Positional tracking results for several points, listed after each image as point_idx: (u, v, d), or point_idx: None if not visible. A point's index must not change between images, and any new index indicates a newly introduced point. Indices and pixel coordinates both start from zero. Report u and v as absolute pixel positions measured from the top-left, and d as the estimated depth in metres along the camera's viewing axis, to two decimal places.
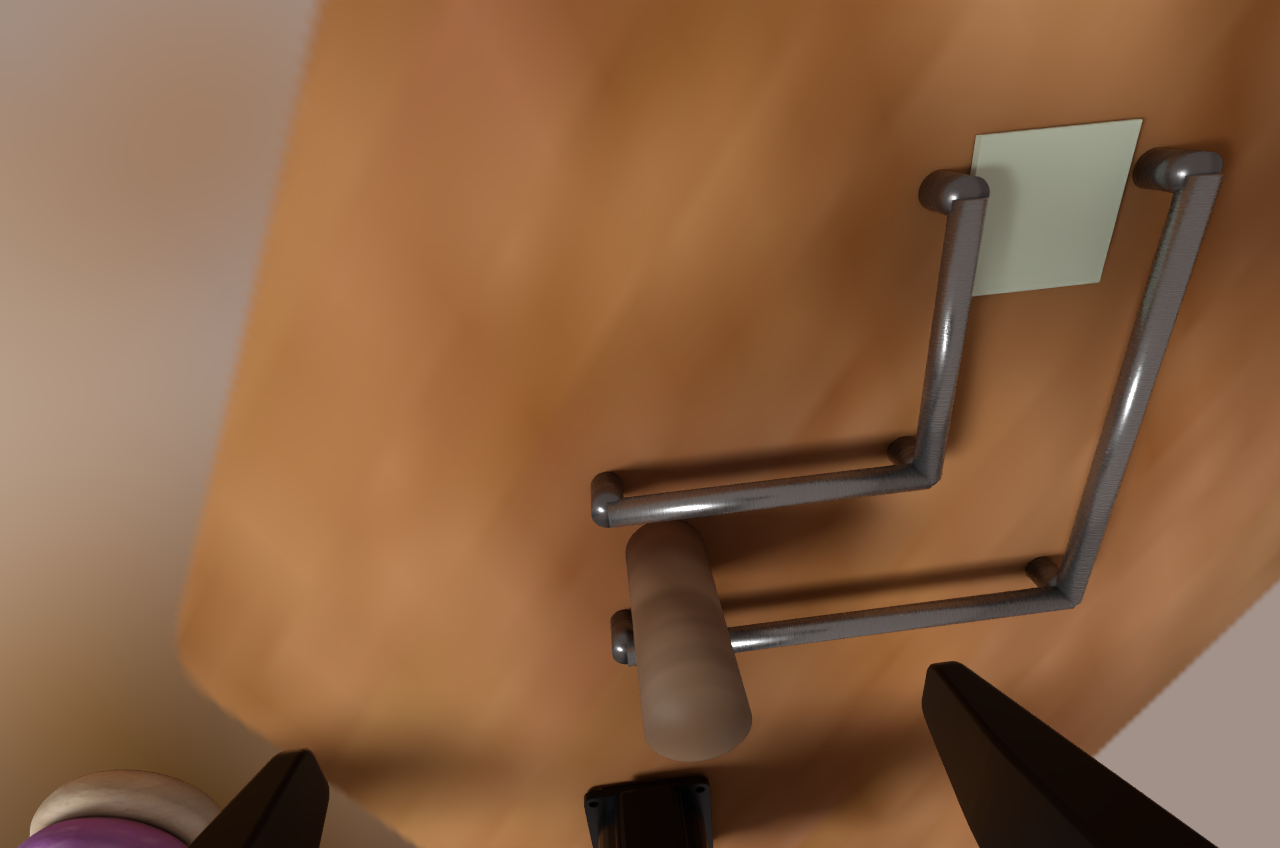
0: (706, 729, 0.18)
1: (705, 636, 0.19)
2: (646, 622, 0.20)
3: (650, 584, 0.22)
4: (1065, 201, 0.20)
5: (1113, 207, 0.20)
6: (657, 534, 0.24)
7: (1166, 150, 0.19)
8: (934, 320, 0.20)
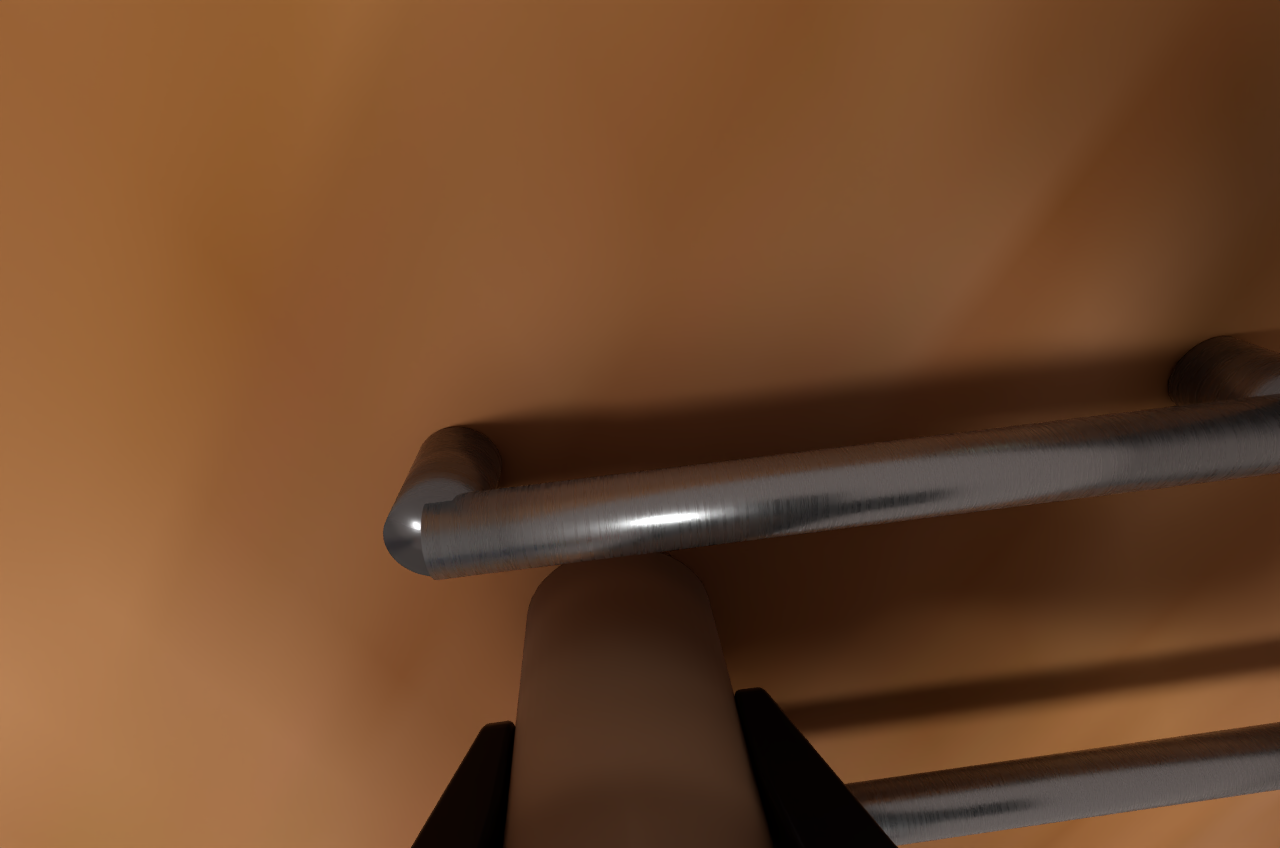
0: None
1: None
2: None
3: (554, 750, 0.07)
4: None
5: None
6: (593, 587, 0.09)
7: None
8: None
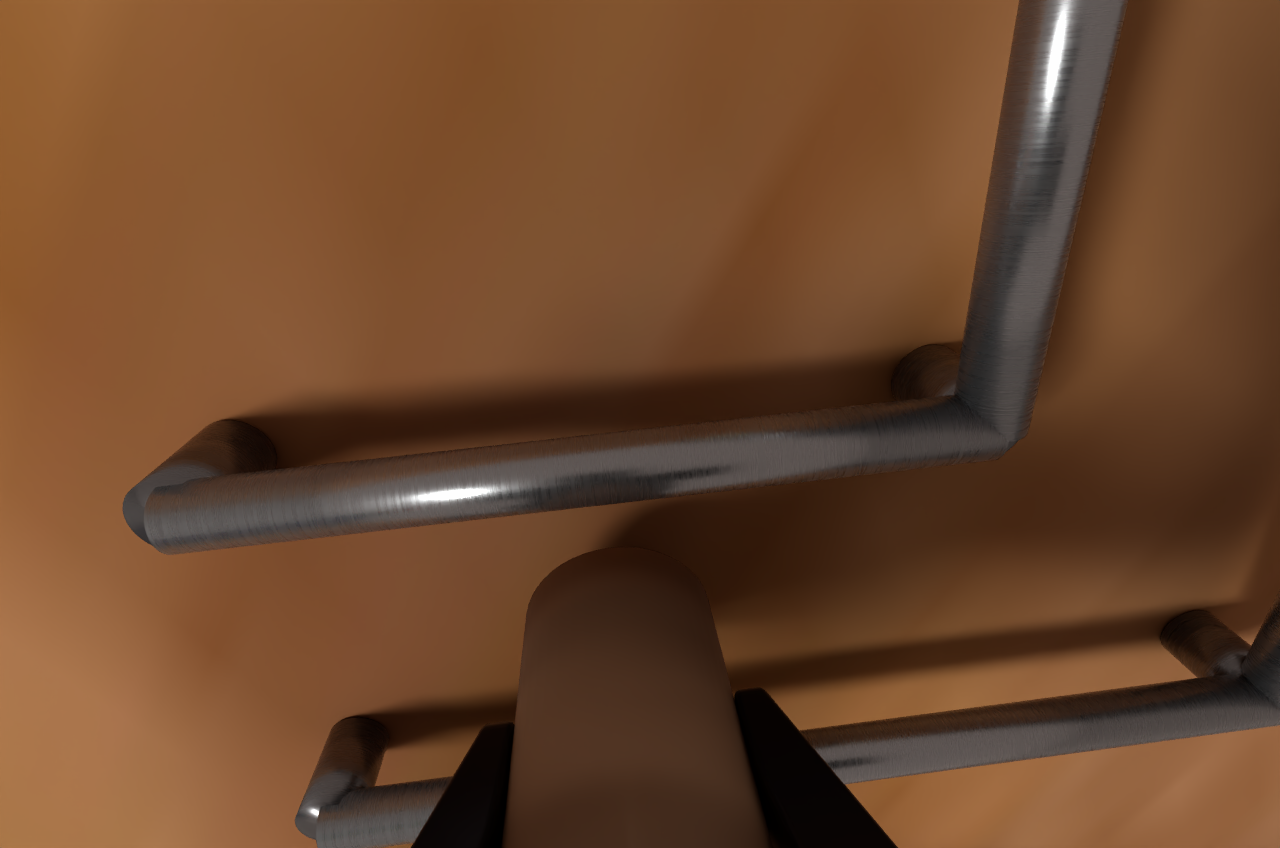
0: None
1: None
2: None
3: (552, 750, 0.07)
4: None
5: None
6: (592, 587, 0.09)
7: None
8: None
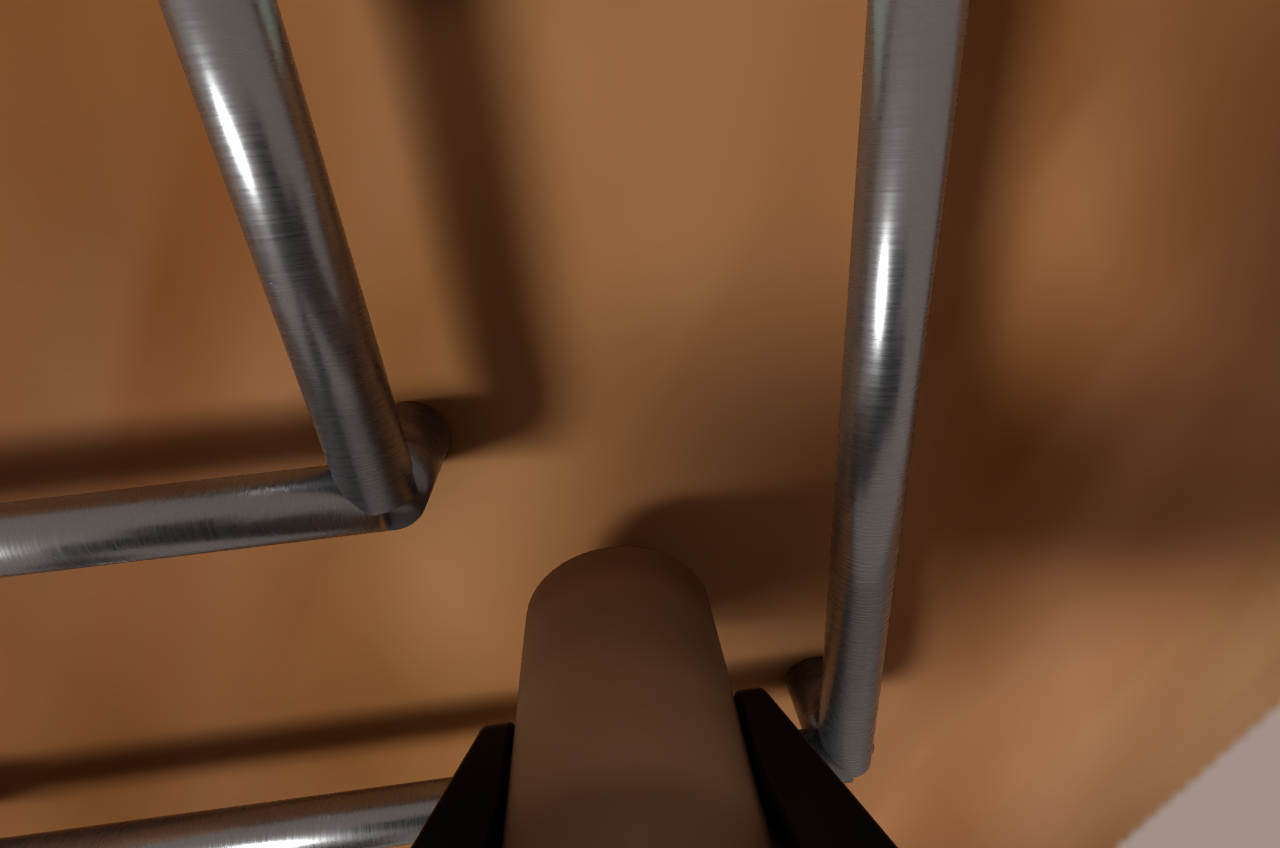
0: None
1: None
2: None
3: (553, 750, 0.07)
4: None
5: None
6: (592, 586, 0.09)
7: None
8: None
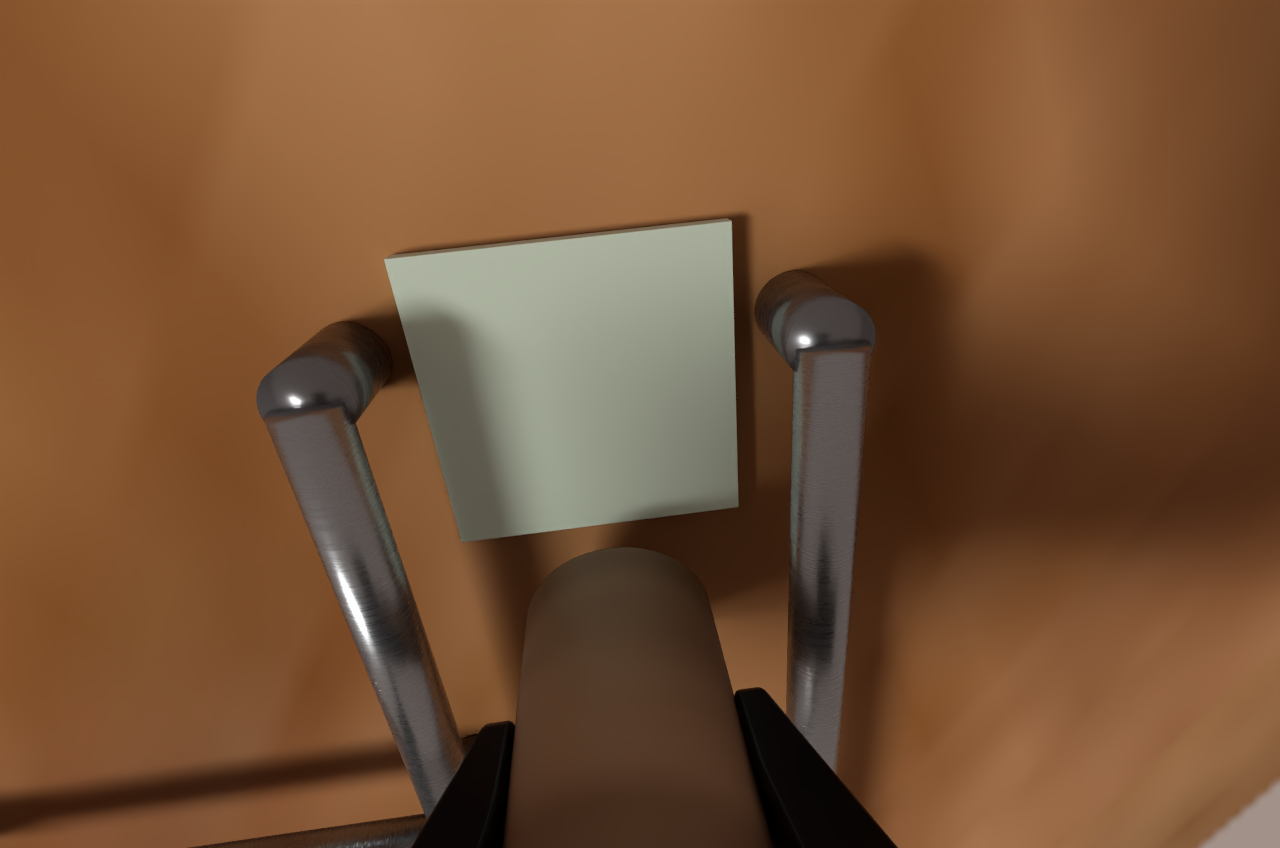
0: None
1: None
2: None
3: (553, 751, 0.07)
4: (619, 376, 0.10)
5: (723, 383, 0.10)
6: (593, 587, 0.09)
7: (791, 282, 0.09)
8: None
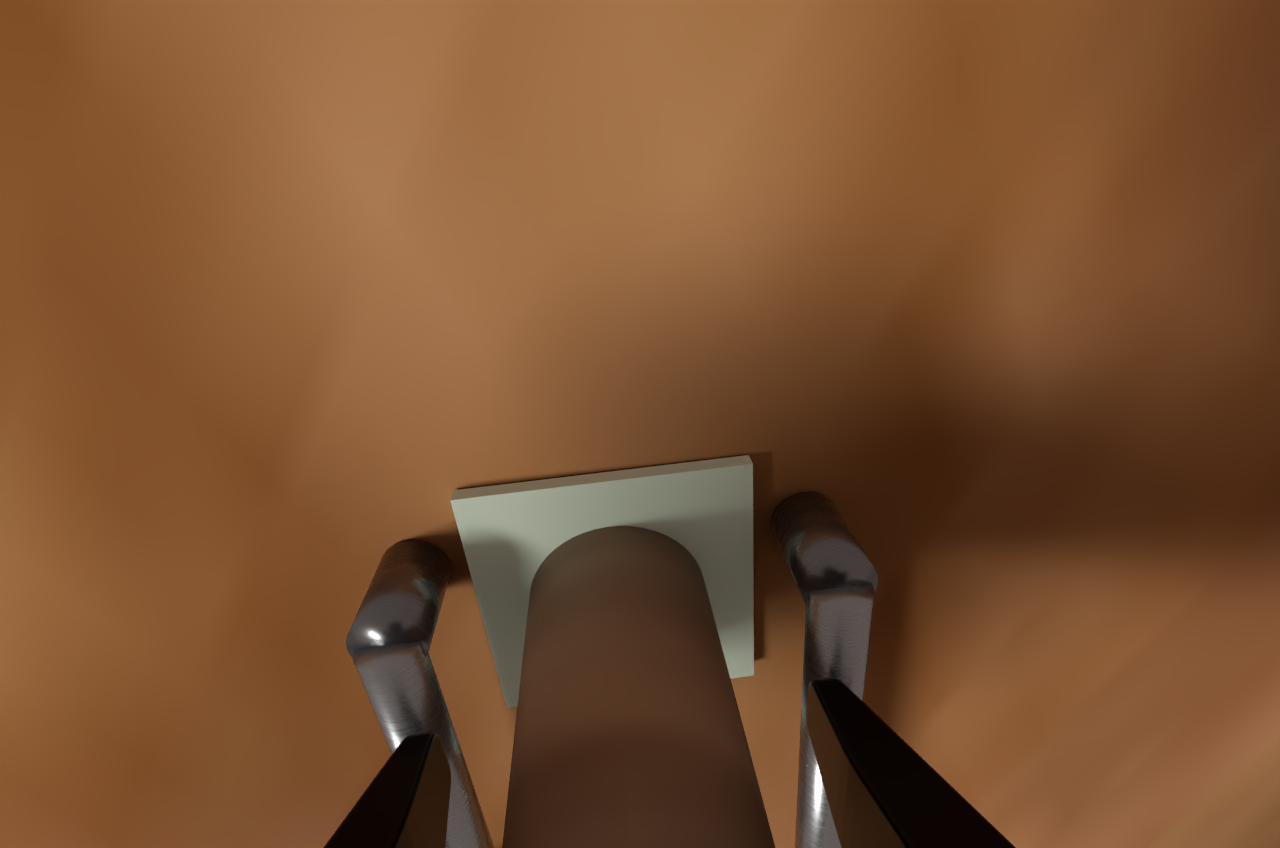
0: None
1: None
2: None
3: (556, 707, 0.08)
4: None
5: (743, 582, 0.11)
6: (593, 562, 0.10)
7: (805, 512, 0.10)
8: None
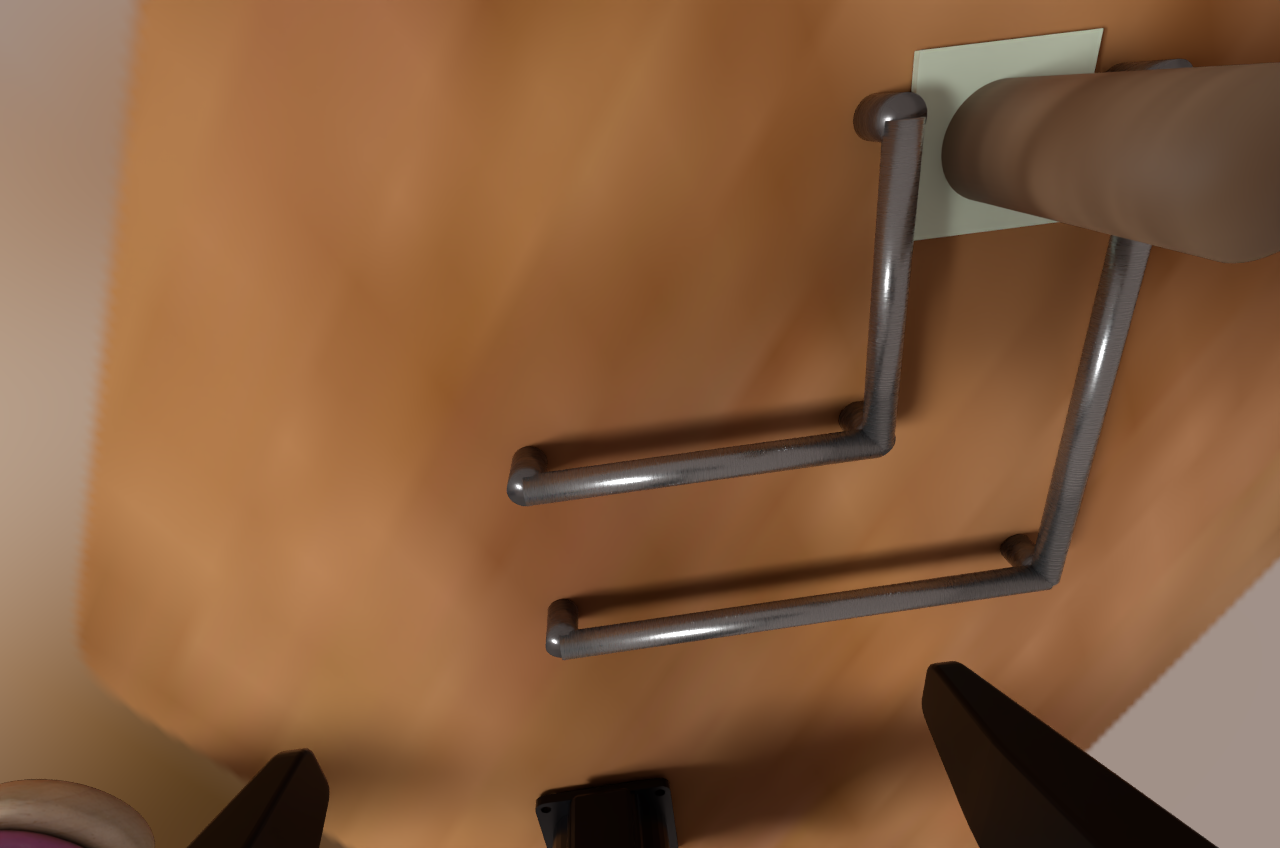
0: None
1: None
2: (1091, 101, 0.13)
3: (1058, 88, 0.14)
4: None
5: None
6: (1014, 80, 0.16)
7: (1131, 63, 0.17)
8: (874, 263, 0.17)
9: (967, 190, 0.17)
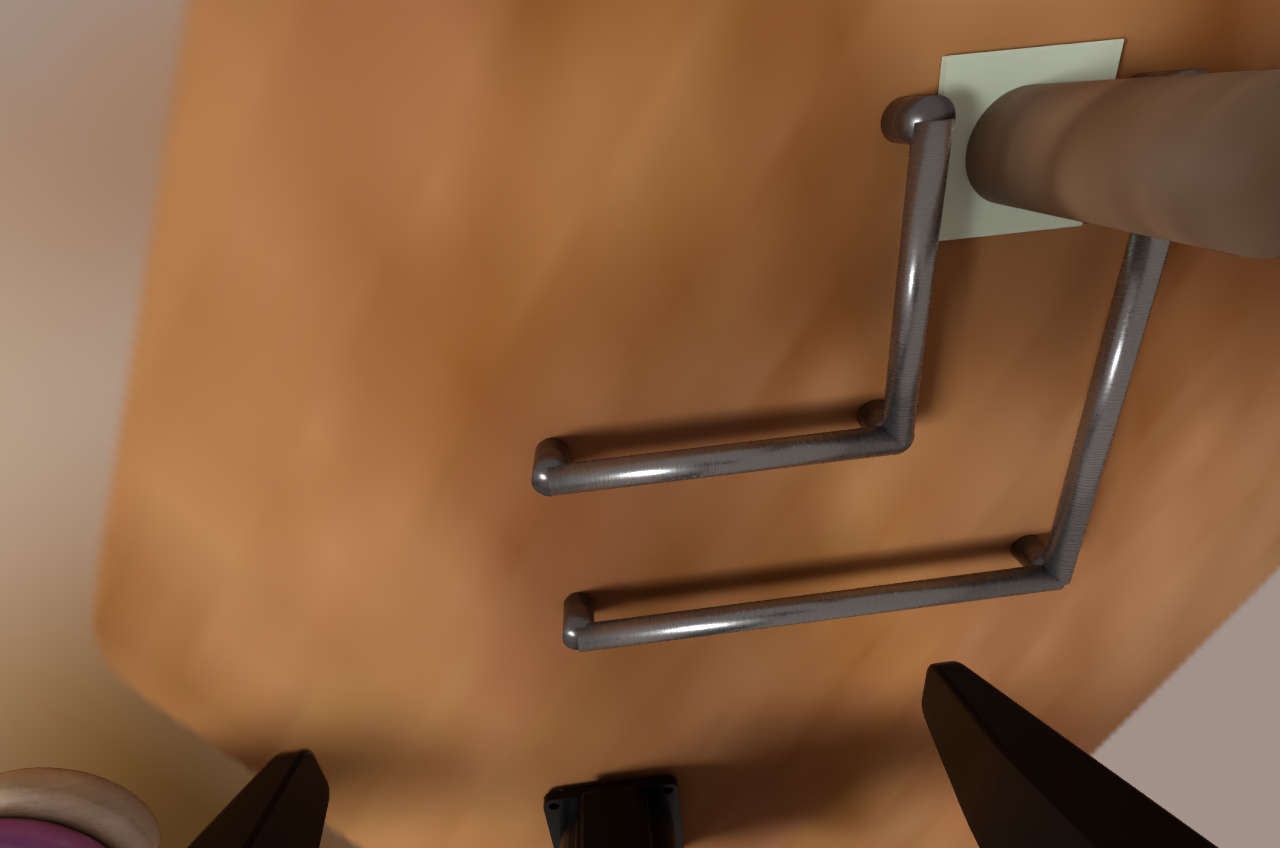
0: None
1: None
2: (1121, 104, 0.13)
3: (1086, 92, 0.14)
4: None
5: None
6: (1039, 86, 0.17)
7: (1151, 73, 0.17)
8: (899, 262, 0.18)
9: (991, 192, 0.18)
